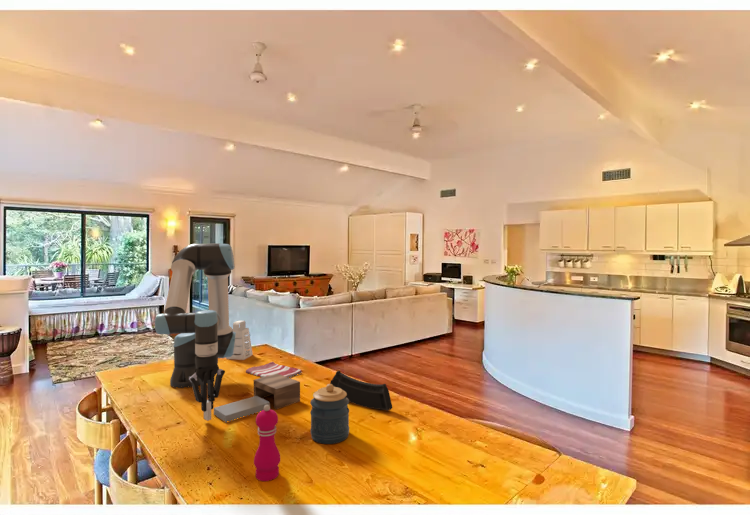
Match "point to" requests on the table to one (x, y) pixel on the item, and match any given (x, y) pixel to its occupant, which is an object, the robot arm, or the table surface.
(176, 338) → the robot arm
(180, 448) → the table surface
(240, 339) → the grater
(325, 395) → the canister
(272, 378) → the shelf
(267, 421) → the pepper mill
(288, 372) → the dish towel
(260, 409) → the tile
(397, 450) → the table surface
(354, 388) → the magazine
